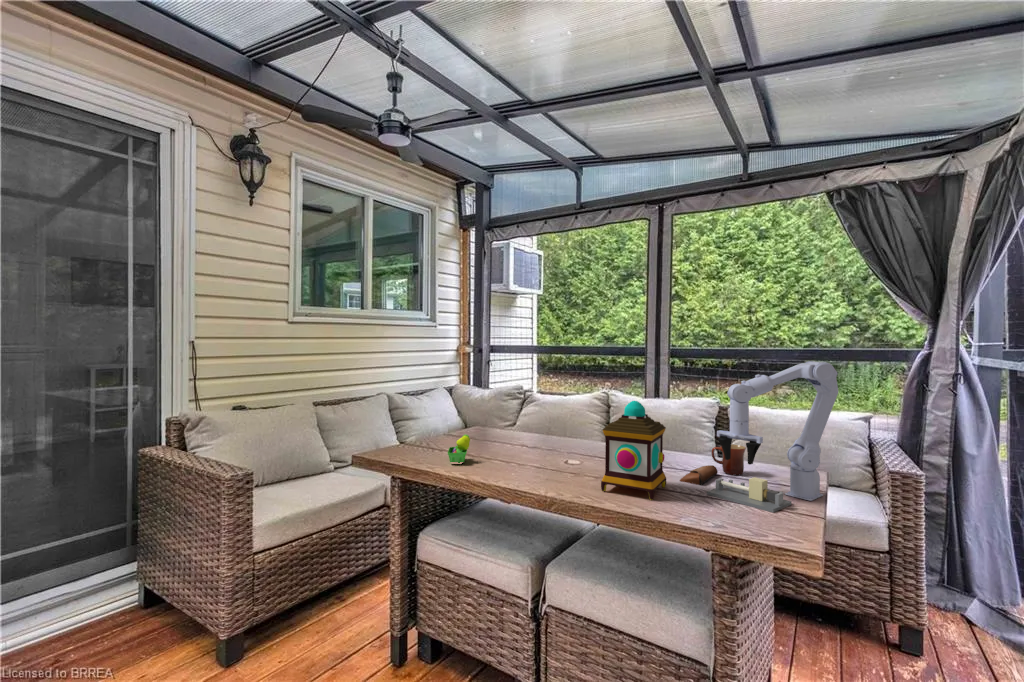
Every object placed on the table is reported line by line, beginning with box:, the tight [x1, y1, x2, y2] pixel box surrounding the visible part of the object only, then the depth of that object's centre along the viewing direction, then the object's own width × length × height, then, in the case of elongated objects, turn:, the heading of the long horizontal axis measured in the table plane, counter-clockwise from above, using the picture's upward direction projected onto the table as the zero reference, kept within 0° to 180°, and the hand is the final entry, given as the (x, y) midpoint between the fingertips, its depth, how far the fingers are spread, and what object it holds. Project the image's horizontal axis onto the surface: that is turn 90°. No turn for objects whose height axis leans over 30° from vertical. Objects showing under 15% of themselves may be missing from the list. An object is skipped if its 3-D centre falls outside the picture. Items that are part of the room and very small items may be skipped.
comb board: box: [706, 477, 792, 514], centre depth 152 cm, size 21×12×4 cm, turn 37°
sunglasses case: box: [679, 464, 719, 486], centre depth 176 cm, size 18×7×7 cm, turn 141°
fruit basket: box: [447, 434, 471, 463], centre depth 197 cm, size 11×9×11 cm
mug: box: [711, 443, 747, 476], centre depth 184 cm, size 12×9×10 cm
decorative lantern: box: [600, 400, 667, 501], centre depth 162 cm, size 20×20×30 cm
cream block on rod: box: [748, 476, 769, 501], centre depth 150 cm, size 4×4×6 cm
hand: (738, 461), depth 159 cm, fingers open, 7 cm apart
